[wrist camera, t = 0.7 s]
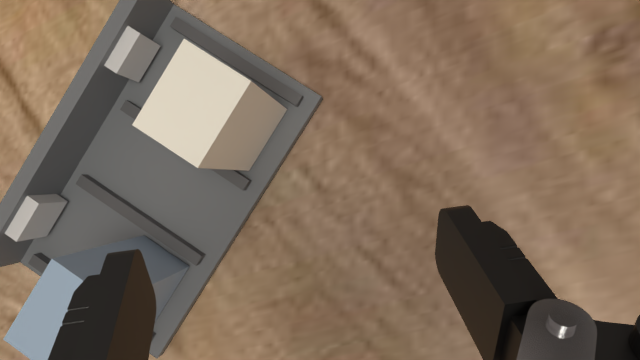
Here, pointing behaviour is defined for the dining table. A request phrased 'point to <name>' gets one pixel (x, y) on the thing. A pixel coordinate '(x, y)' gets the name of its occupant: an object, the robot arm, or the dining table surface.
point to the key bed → (141, 160)
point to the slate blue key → (66, 276)
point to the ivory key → (209, 112)
